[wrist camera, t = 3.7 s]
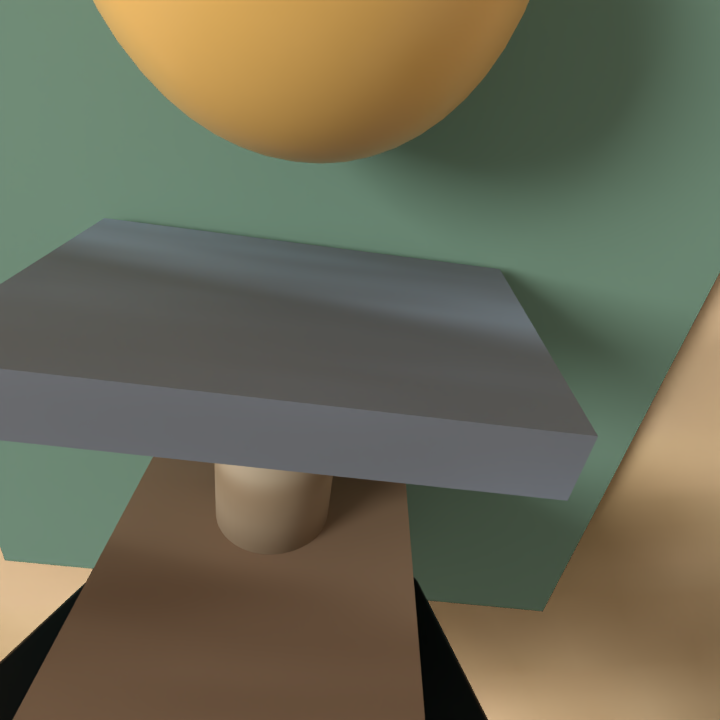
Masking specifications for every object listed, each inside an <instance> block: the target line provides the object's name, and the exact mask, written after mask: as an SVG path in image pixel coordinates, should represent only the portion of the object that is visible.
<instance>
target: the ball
mask: <svg viewBox="0 0 720 720" xmlns="http://www.w3.org/2000/svg"><path fill="white" fill-rule="evenodd" d="M93 1H94V3H95V5H96V7H97V9H98V11H99V13H100V14H101V16H102V17H103V19H104V20H105V22H106V24H107V25H108V27H109V28H110V30H111V32H112V33H113V35H114V36H115V38H116V40H117V41H118V42H119V44H120V45H121V46H122V48H123V49H124V50H125V51H126V53H127V54H128V55H129V57H130V58H131V59H132V60H133V62H134V63H135V64H136V66H137V67H138V68H139V69H140V71H141V72H142V73H143V74H144V75H145V76H146V77H147V79H148V80H149V81H150V82H151V83H152V84H153V85H154V86H155V87H156V88H157V89H158V90H159V91H160V92H161V93H162V94H163V95H164V96H165V97H166V98H167V99H168V100H169V101H170V102H172V103H173V104H174V105H175V106H176V107H177V108H179V109H180V110H181V111H182V112H183V113H185V114H186V115H187V116H188V117H189V118H191V119H192V120H194V121H195V122H197V123H198V124H200V125H201V126H203V127H204V128H206V129H207V130H209V131H211V132H212V133H214V134H215V135H217V136H219V137H221V138H223V139H225V140H227V141H229V142H231V143H233V144H235V145H237V146H239V147H242V148H245V149H247V150H250V151H253V152H256V153H259V154H262V155H265V156H269V157H273V158H278V159H283V160H288V161H293V162H304V163H318V164H323V163H337V162H348V161H353V160H357V159H362V158H367V157H372V156H374V155H377V154H380V153H383V152H385V151H388V150H391V149H394V148H396V147H398V146H400V145H402V144H404V143H406V142H408V141H410V140H412V139H414V138H416V137H418V136H419V135H421V134H423V133H424V132H425V131H427V130H428V129H430V128H431V127H433V126H434V125H435V124H437V123H438V122H440V121H441V120H443V119H444V118H445V117H446V116H447V115H448V114H449V113H451V112H452V111H453V110H454V109H455V108H456V107H457V106H458V105H459V104H461V103H462V102H463V101H464V100H465V99H466V98H467V97H468V96H469V94H470V93H471V92H472V91H473V90H474V89H475V88H476V86H477V85H478V84H479V83H480V82H481V81H482V80H483V78H484V77H485V76H486V75H487V73H488V72H489V70H490V69H491V68H492V66H493V65H494V63H495V62H496V60H497V59H498V57H499V56H500V55H501V53H502V52H503V50H504V49H505V47H506V45H507V43H508V42H509V40H510V38H511V36H512V34H513V32H514V31H515V29H516V27H517V25H518V23H519V21H520V20H521V18H522V16H523V14H524V12H525V10H526V7H527V5H528V2H529V0H93Z"/></svg>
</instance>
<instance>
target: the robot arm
mask: <svg viewBox="0 0 720 720" xmlns="http://www.w3.org/2000/svg"><path fill="white" fill-rule="evenodd" d="M413 578H414V590H415V602H416V615H417V627H418V639H419V651H420V664H421V676H422V688H423V701H424V713H425V720H488V719H487V717H486V715H485V713H484V711H483V709H482V707H481V705H480V703H479V701H478V699H477V697H476V695H475V693H474V691H473V689H472V687H471V685H470V683H469V681H468V679H467V677H466V675H465V673H464V671H463V669H462V667H461V666H460V664H459V662H458V660H457V658H456V656H455V654H454V652H453V650H452V648H451V646H450V644H449V642H448V640H447V638H446V636H445V634H444V632H443V630H442V628H441V626H440V624H439V622H438V620H437V618H436V616H435V614H434V612H433V610H432V608H431V606H430V604H429V602H428V600H427V598H426V597H425V595H424V593H423V591H422V589H421V587H420V585H419V583H418V581H417V580H416V578H415V577H413ZM84 585H85V584H84ZM84 585H83V586H81V587H80V588H79V589H78V590H77V591H76V592H75V593H74V594H73V595H72V596H71V597H70V598H69V599H67V600H66V601H65V602H64V603H63V604H62V605H61V606H60V607H59V608H58V609H57V610H56V611H54V612H53V613H52V614H51V615H50V616H49V617H48V618H47V619H46V620H45V621H44V622H43V623H42V624H40V625H39V626H38V627H37V628H36V629H35V630H34V631H33V632H32V633H31V634H30V635H29V636H28V637H26V638H25V639H24V640H23V641H22V642H21V643H20V644H19V645H18V646H17V647H16V648H15V649H13V650H12V651H11V652H10V653H9V654H8V655H7V656H6V657H5V658H4V659H3V660H2V661H1V662H0V720H13V718H14V716H15V714H16V712H17V711H18V709H19V707H20V705H21V703H22V701H23V699H24V697H25V696H26V694H27V692H28V690H29V688H30V686H31V684H32V683H33V681H34V679H35V677H36V675H37V673H38V671H39V669H40V668H41V666H42V664H43V662H44V660H45V658H46V656H47V654H48V653H49V651H50V649H51V647H52V645H53V643H54V641H55V639H56V638H57V636H58V634H59V632H60V630H61V628H62V626H63V624H64V623H65V621H66V619H67V617H68V615H69V613H70V611H71V609H72V608H73V606H74V604H75V602H76V600H77V598H78V596H79V594H80V593H81V591H82V589H83V587H84Z"/></svg>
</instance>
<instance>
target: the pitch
mask: <svg viewBox="0 0 720 720" xmlns="http://www.w3.org/2000/svg"><path fill="white" fill-rule="evenodd" d="M104 218H108V219H116V220H123V221H131V222H139V223H147V224H154V225H162V226H170V227H178V228H185V229H193V230H201V231H209V232H216V233H224V234H232V235H240V236H247V237H255V238H263V239H271V240H278V241H286V242H294V243H302V244H309V245H317V246H325V247H333V248H340V249H348V250H356V251H364V252H371V253H379V254H387V255H395V256H402V257H410V258H418V259H426V260H433V261H441V262H449V263H457V264H464V265H472V266H480V267H488V268H495V269H500V270H501V272H502V274H503V275H504V277H505V279H506V281H507V282H508V284H509V286H510V287H511V289H512V291H513V292H514V294H515V296H516V298H517V299H518V301H519V303H520V304H521V306H522V308H523V309H524V311H525V313H526V315H527V316H528V318H529V320H530V321H531V323H532V325H533V326H534V328H535V330H536V332H537V333H538V335H539V337H540V338H541V340H542V342H543V343H544V345H545V347H546V349H547V350H548V352H549V354H550V355H551V357H552V359H553V360H554V362H555V364H556V365H557V367H558V369H559V371H560V372H561V374H562V376H563V377H564V379H565V381H566V382H567V384H568V386H569V388H570V389H571V391H572V393H573V394H574V396H575V398H576V399H577V401H578V403H579V405H580V406H581V408H582V410H583V411H584V413H585V415H586V416H587V418H588V420H589V422H590V423H591V425H592V427H593V428H594V430H595V432H596V433H597V435H598V438H597V440H596V442H595V444H594V446H593V448H592V450H591V453H590V455H589V457H588V459H587V461H586V463H585V465H584V467H583V469H582V471H581V474H580V476H579V478H578V480H577V482H576V484H575V486H574V488H573V490H572V493H571V495H570V497H569V499H568V501H565V500H556V499H546V498H537V497H527V496H518V495H509V494H499V493H490V492H480V491H471V490H462V489H452V488H443V487H433V486H424V485H415V484H406V492H407V504H408V516H409V529H410V541H411V553H412V565H413V577H415V578H416V580H417V581H418V583H419V585H420V587H421V589H422V591H423V593H424V595H425V597H426V598H427V600H429V601H440V602H450V603H461V604H471V605H482V606H492V607H503V608H514V609H524V610H535V611H543V610H544V608H545V606H546V604H547V602H548V600H549V598H550V596H551V594H552V593H553V591H554V589H555V587H556V585H557V583H558V581H559V579H560V577H561V575H562V573H563V571H564V570H565V568H566V566H567V564H568V562H569V560H570V558H571V556H572V554H573V552H574V550H575V548H576V547H577V545H578V543H579V541H580V539H581V537H582V535H583V533H584V531H585V529H586V527H587V526H588V524H589V522H590V520H591V518H592V516H593V514H594V512H595V510H596V508H597V506H598V504H599V503H600V501H601V499H602V497H603V495H604V493H605V491H606V489H607V487H608V485H609V483H610V481H611V480H612V478H613V476H614V474H615V472H616V470H617V468H618V466H619V464H620V462H621V460H622V458H623V457H624V455H625V453H626V451H627V449H628V447H629V445H630V443H631V441H632V439H633V437H634V436H635V434H636V432H637V430H638V428H639V426H640V424H641V422H642V420H643V418H644V416H645V414H646V413H647V411H648V409H649V407H650V405H651V403H652V401H653V399H654V397H655V395H656V393H657V391H658V390H659V388H660V386H661V384H662V382H663V380H664V378H665V376H666V374H667V372H668V370H669V369H670V367H671V365H672V363H673V361H674V359H675V357H676V355H677V353H678V351H679V349H680V347H681V346H682V344H683V342H684V340H685V338H686V336H687V334H688V332H689V330H690V328H691V326H692V324H693V323H694V321H695V319H696V317H697V315H698V313H699V311H700V309H701V307H702V305H703V303H704V302H705V300H706V298H707V296H708V294H709V292H710V290H711V288H712V286H713V284H714V282H715V280H716V279H717V277H718V275H719V273H720V0H529V2H528V5H527V7H526V10H525V12H524V14H523V16H522V18H521V20H520V21H519V23H518V25H517V27H516V29H515V31H514V32H513V34H512V36H511V38H510V40H509V42H508V43H507V45H506V47H505V49H504V50H503V52H502V53H501V55H500V56H499V57H498V59H497V60H496V62H495V63H494V65H493V66H492V68H491V69H490V70H489V72H488V73H487V75H486V76H485V77H484V78H483V80H482V81H481V82H480V83H479V84H478V85H477V86H476V88H475V89H474V90H473V91H472V92H471V93H470V94H469V96H468V97H467V98H466V99H465V100H464V101H463V102H462V103H461V104H459V105H458V106H457V107H456V108H455V109H454V110H453V111H452V112H451V113H449V114H448V115H447V116H446V117H445V118H444V119H443V120H441V121H440V122H438V123H437V124H435V125H434V126H433V127H431V128H430V129H428V130H427V131H425V132H424V133H423V134H421V135H419V136H418V137H416V138H414V139H412V140H410V141H408V142H406V143H404V144H402V145H400V146H398V147H396V148H394V149H391V150H388V151H385V152H383V153H380V154H377V155H374V156H372V157H367V158H362V159H357V160H353V161H348V162H337V163H323V164H318V163H304V162H293V161H288V160H283V159H278V158H273V157H269V156H265V155H262V154H259V153H256V152H253V151H250V150H247V149H245V148H242V147H239V146H237V145H235V144H233V143H231V142H229V141H227V140H225V139H223V138H221V137H219V136H217V135H215V134H214V133H212V132H211V131H209V130H207V129H206V128H204V127H203V126H201V125H200V124H198V123H197V122H195V121H194V120H192V119H191V118H189V117H188V116H187V115H186V114H185V113H183V112H182V111H181V110H180V109H179V108H177V107H176V106H175V105H174V104H173V103H172V102H170V101H169V100H168V99H167V98H166V97H165V96H164V95H163V94H162V93H161V92H160V91H159V90H158V89H157V88H156V87H155V86H154V85H153V84H152V83H151V82H150V81H149V80H148V79H147V77H146V76H145V75H144V74H143V73H142V72H141V71H140V69H139V68H138V67H137V66H136V64H135V63H134V62H133V60H132V59H131V58H130V57H129V55H128V54H127V53H126V51H125V50H124V49H123V48H122V46H121V45H120V44H119V42H118V41H117V40H116V38H115V36H114V35H113V33H112V32H111V30H110V28H109V27H108V25H107V24H106V22H105V20H104V19H103V17H102V16H101V14H100V13H99V11H98V9H97V7H96V5H95V3H94V1H93V0H0V284H1V283H3V282H4V281H6V280H8V279H9V278H11V277H12V276H14V275H15V274H17V273H19V272H20V271H22V270H23V269H25V268H26V267H28V266H30V265H31V264H33V263H34V262H36V261H37V260H39V259H41V258H42V257H44V256H45V255H47V254H49V253H50V252H52V251H53V250H55V249H56V248H58V247H60V246H61V245H63V244H64V243H66V242H67V241H69V240H71V239H72V238H74V237H75V236H77V235H79V234H80V233H82V232H83V231H85V230H86V229H88V228H90V227H91V226H93V225H94V224H96V223H97V222H99V221H101V220H102V219H104ZM152 458H153V457H151V456H142V455H133V454H123V453H114V452H104V451H95V450H85V449H76V448H67V447H57V446H48V445H38V444H29V443H20V442H10V441H1V440H0V547H1V550H2V553H3V556H4V559H5V560H8V561H18V562H29V563H39V564H50V565H60V566H71V567H81V568H92V569H93V568H94V566H95V564H96V563H97V561H98V559H99V557H100V555H101V553H102V551H103V550H104V548H105V546H106V544H107V542H108V540H109V538H110V536H111V535H112V533H113V531H114V529H115V527H116V525H117V523H118V521H119V520H120V518H121V516H122V514H123V512H124V510H125V508H126V506H127V505H128V503H129V501H130V499H131V497H132V495H133V493H134V491H135V490H136V488H137V486H138V484H139V482H140V480H141V478H142V476H143V475H144V473H145V471H146V469H147V467H148V465H149V463H150V461H151V460H152Z"/></svg>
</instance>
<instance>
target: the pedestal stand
mask: <svg viewBox="0 0 720 720" xmlns="http://www.w3.org/2000/svg"><path fill="white" fill-rule="evenodd" d="M597 438H598V435H597V433H596V432H595V430H594V428H593V427H592V425H591V423H590V422H589V420H588V418H587V416H586V415H585V413H584V411H583V410H582V408H581V406H580V405H579V403H578V401H577V399H576V398H575V396H574V394H573V393H572V391H571V389H570V388H569V386H568V384H567V382H566V381H565V379H564V377H563V376H562V374H561V372H560V371H559V369H558V367H557V365H556V364H555V362H554V360H553V359H552V357H551V355H550V354H549V352H548V350H547V349H546V347H545V345H544V343H543V342H542V340H541V338H540V337H539V335H538V333H537V332H536V330H535V328H534V326H533V325H532V323H531V321H530V320H529V318H528V316H527V315H526V313H525V311H524V309H523V308H522V306H521V304H520V303H519V301H518V299H517V298H516V296H515V294H514V292H513V291H512V289H511V287H510V286H509V284H508V282H507V281H506V279H505V277H504V275H503V274H502V272H501V270H500V269H495V268H488V267H480V266H472V265H464V264H457V263H449V262H441V261H433V260H426V259H418V258H410V257H402V256H395V255H387V254H379V253H371V252H364V251H356V250H348V249H340V248H333V247H325V246H317V245H309V244H302V243H294V242H286V241H278V240H271V239H263V238H255V237H247V236H240V235H232V234H224V233H216V232H209V231H201V230H193V229H185V228H178V227H170V226H162V225H154V224H147V223H139V222H131V221H123V220H116V219H108V218H104V219H102V220H101V221H99V222H97V223H96V224H94V225H93V226H91V227H90V228H88V229H86V230H85V231H83V232H82V233H80V234H79V235H77V236H75V237H74V238H72V239H71V240H69V241H67V242H66V243H64V244H63V245H61V246H60V247H58V248H56V249H55V250H53V251H52V252H50V253H49V254H47V255H45V256H44V257H42V258H41V259H39V260H37V261H36V262H34V263H33V264H31V265H30V266H28V267H26V268H25V269H23V270H22V271H20V272H19V273H17V274H15V275H14V276H12V277H11V278H9V279H8V280H6V281H4V282H3V283H1V284H0V440H1V441H10V442H20V443H29V444H38V445H48V446H57V447H67V448H76V449H85V450H95V451H104V452H114V453H123V454H133V455H142V456H151V457H153V458H152V460H151V461H150V463H149V465H148V467H147V469H146V471H145V473H144V475H143V476H142V478H141V480H140V482H139V484H138V486H137V488H136V490H135V491H134V493H133V495H132V497H131V499H130V501H129V503H128V505H127V506H126V508H125V510H124V512H123V514H122V516H121V518H120V520H119V521H118V523H117V525H116V527H115V529H114V531H113V533H112V535H111V536H110V538H109V540H108V542H107V544H106V546H105V548H104V550H103V551H102V553H101V555H100V557H99V559H98V561H97V563H96V564H95V566H94V568H93V570H92V572H91V574H90V576H89V578H88V579H87V581H86V583H85V585H84V587H83V589H82V591H81V593H80V594H79V596H78V598H77V600H76V602H75V604H74V606H73V608H72V609H71V611H70V613H69V615H68V617H67V619H66V621H65V623H64V624H63V626H62V628H61V630H60V632H59V634H58V636H57V638H56V639H55V641H54V643H53V645H52V647H51V649H50V651H49V653H48V654H47V656H46V658H45V660H44V662H43V664H42V666H41V668H40V669H39V671H38V673H37V675H36V677H35V679H34V681H33V683H32V684H31V686H30V688H29V690H28V692H27V694H26V696H25V697H24V699H23V701H22V703H21V705H20V707H19V709H18V711H17V712H16V714H15V716H14V718H13V720H425V713H424V701H423V688H422V676H421V664H420V651H419V639H418V627H417V615H416V602H415V590H414V578H413V565H412V553H411V541H410V529H409V516H408V504H407V492H406V484H415V485H424V486H433V487H443V488H452V489H462V490H471V491H480V492H490V493H499V494H509V495H518V496H527V497H537V498H546V499H556V500H565V501H568V499H569V497H570V495H571V493H572V490H573V488H574V486H575V484H576V482H577V480H578V478H579V476H580V474H581V471H582V469H583V467H584V465H585V463H586V461H587V459H588V457H589V455H590V453H591V450H592V448H593V446H594V444H595V442H596V440H597Z"/></svg>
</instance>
